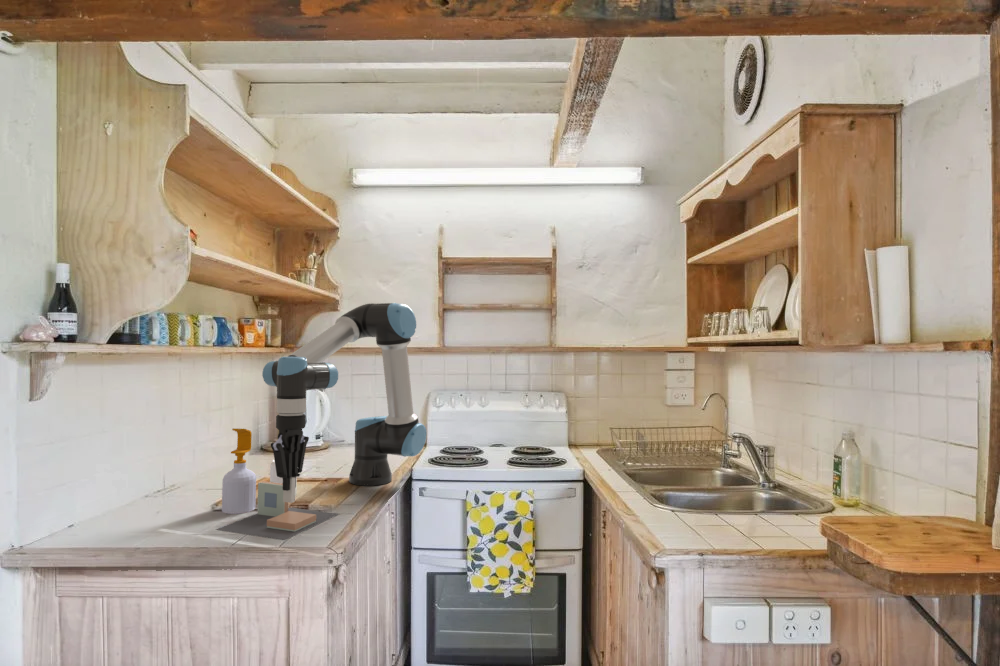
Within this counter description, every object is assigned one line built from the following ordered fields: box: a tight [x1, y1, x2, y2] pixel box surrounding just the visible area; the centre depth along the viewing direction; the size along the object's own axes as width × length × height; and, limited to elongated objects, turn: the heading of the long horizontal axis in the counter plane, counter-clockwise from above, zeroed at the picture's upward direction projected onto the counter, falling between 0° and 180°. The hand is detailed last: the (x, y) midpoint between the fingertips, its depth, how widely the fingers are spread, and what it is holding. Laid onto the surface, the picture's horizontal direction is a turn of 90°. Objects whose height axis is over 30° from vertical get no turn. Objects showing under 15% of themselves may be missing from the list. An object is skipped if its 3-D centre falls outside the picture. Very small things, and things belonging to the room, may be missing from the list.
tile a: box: [267, 511, 316, 532], centre depth 159 cm, size 2×9×9 cm
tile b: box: [256, 480, 289, 517], centre depth 167 cm, size 2×9×9 cm, turn 72°
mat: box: [215, 507, 340, 541], centre depth 162 cm, size 24×22×1 cm
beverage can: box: [269, 459, 298, 497], centre depth 188 cm, size 8×8×12 cm
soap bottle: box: [221, 428, 257, 515], centre depth 173 cm, size 9×9×25 cm
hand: (289, 501), depth 157 cm, fingers closed
